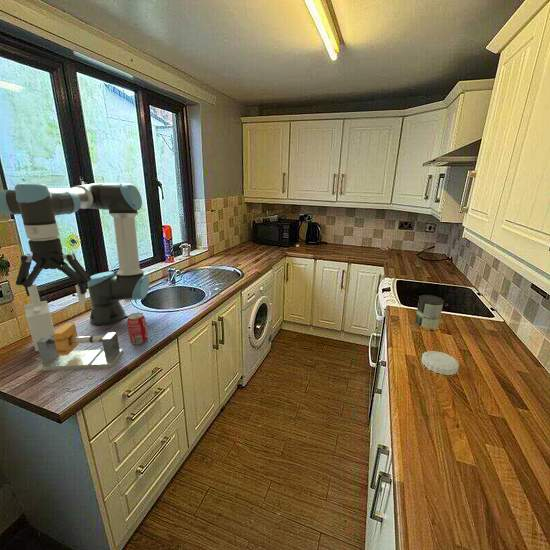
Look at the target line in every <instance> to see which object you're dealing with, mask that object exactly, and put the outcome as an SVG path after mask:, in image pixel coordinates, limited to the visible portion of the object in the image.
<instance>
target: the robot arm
mask: <svg viewBox="0 0 550 550" xmlns="http://www.w3.org/2000/svg"><path fill="white" fill-rule="evenodd" d="M142 207H143V199H142V195H141V194H140V191H139V189H138V188H137V186H135V185H134V184H133V183H128V182H127V183H126V182H96V183H89V184H81V185H80V184H79V185H74V186H72V187H69V188H66V187H63V188H49V186H48V185H47V184H45V183H18V184H17V183H16V185H14V189H0V212H1V213H2V214H5V215H12V216H14V215H15V216H16V215H21V218H22V219H21V220H22V224H23V227H24V230H25V234H26V235H25V236H26V238H27V239H28V247H29V250H30V252H31V254H30V253H26V254H22V255H20V261H21V262H20V263H21V264H20V267H19V270H18V274H17V277H16V281H15V284H16V285H17V286H22V287H24V289H25V293H26V295H27V297H29V299H30V301H31V304H32V306H33V307H36V306H37V305H39V304H41V302H42V301H41V299H40V294H39V290H38V286H37V284H35V281H36V280H37V278H38V277H39V276H40V274H41V272H42V270H49V269H50V270H56V269H57V270H58V271H60V272H62V273H63V274H65V275H66V276H67V277H68V278H70V279H71V280H72V281H73V282H74V283H76V285H75V291H76V295H77V299H78V304H79V306H81V305H82V306H83V305H84V304H85V303H87V297H86V293H87V291H88V293H89V297H90V301H91V310H90V317H89V319H90V323H91V324H92V325H94V326H106V325H111V324H115V323H117V322H120V321H122V320H123V319H125V317H126V311H125V309H124V307H123V306H122V304H121V302H120V300H121V301H122V300H124V301H126V300H127V301H128V300H129V301H130V300H131V301H135V300H136V301H137V300H143V299H145V298H146V296H147V294H148V292H149V289H150V278H149V276H147V275H145V274H144V270H143V269H142V268H140V260H139V259H140V258H139V249H138V239H137V229H136V220H135V218H136V216H138V211H139V210H141V209H142ZM80 209H83V210H85V209H90V210H91V209H94V210H103V211H104V210H107V211H108V214H109V216H112V218H113V225H114V232H115V234H114V235H115V241H116V250H117V257H118V258H117V259H118V268H119V269H118V271H116V272H114V271H105V272H99V273H95V274H93V275H90V274H89V273H88V272H87V271H86V270H85V268H84V267H83V266H82V264H81V263H80V261H78V259H77V255H76V254H75V253H74V252H71V253H66V254H64V253H63V245H62V242H61V238H60V237H59V236H60V232H59V229H58V224H57V220H56V216H60V215H71V214H74V213H76V212H78V211H79V210H80ZM32 262H34V263H35V265H34V266H33V267H32V270H31V271H30V268H31V265H32ZM67 262H68V263H67ZM69 265H70V266H71V267H70V266H69ZM29 271H30V273H29ZM86 284H87V285H86Z"/></svg>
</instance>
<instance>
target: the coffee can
mask: <svg viewBox="0 0 550 550" xmlns="http://www.w3.org/2000/svg"><path fill="white" fill-rule="evenodd" d="M444 303H445V300H444V299H443V297H442V298H441V297H440V296H436V295H433V294H432V295H431V294H422V295H419V296H418V303H417V308H416V309H417V311H416V314H415V321H414V323H415V322H416V324H418V325H419V326H421V327H424V328H430V329H435V328H438V329H439V326H440V321H441V316H442V312H443V306H444Z"/></svg>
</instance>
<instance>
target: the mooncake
mask: <svg viewBox="0 0 550 550" xmlns="http://www.w3.org/2000/svg"><path fill="white" fill-rule="evenodd" d="M421 361H422V363H423V365H425V367H427V368H428V369H429V370H432V371H434V372H436V373H440V374H445V375H453V374H457V373H458V372H459V369H460V363H459V362H458V360H456V359H455V358H454V357H453V356H450V354H448V353H445V352H442V351H435V350H428V351H425V352H423V354H422V356H421ZM421 361H420V362H421ZM422 363H421V364H422ZM425 367H424V368H425ZM428 369H427V370H428ZM429 370H428V371H429ZM456 372H457V373H456ZM453 376H454V375H453Z"/></svg>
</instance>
